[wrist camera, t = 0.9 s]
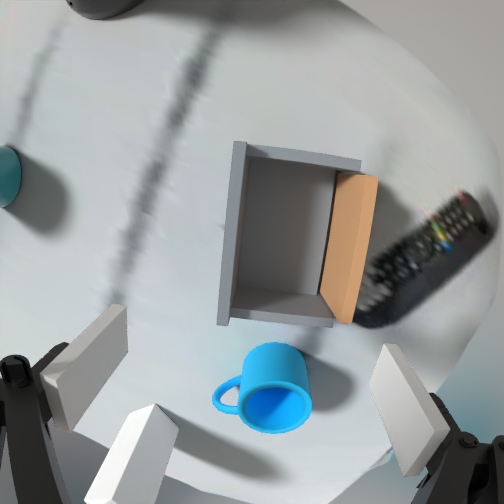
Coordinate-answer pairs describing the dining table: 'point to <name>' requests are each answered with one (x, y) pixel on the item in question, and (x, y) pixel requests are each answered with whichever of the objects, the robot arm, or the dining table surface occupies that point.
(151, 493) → the milk
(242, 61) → the dining table surface
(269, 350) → the mug
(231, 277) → the box
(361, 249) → the panel
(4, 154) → the cup
